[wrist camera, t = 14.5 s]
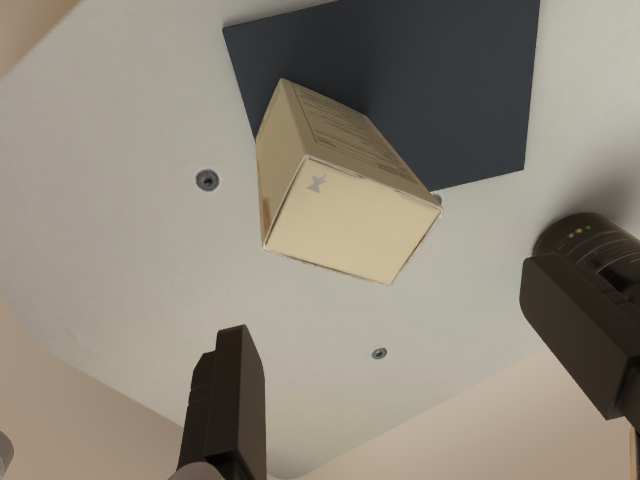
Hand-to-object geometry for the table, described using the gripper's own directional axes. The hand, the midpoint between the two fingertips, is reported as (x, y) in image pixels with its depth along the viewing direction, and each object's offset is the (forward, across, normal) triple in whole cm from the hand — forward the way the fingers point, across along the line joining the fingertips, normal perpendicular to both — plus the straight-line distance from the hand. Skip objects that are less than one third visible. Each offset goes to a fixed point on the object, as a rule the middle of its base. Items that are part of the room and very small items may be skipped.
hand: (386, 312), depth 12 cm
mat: (+17, -5, 0) cm, 18 cm away
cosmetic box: (+17, 0, 0) cm, 17 cm away
